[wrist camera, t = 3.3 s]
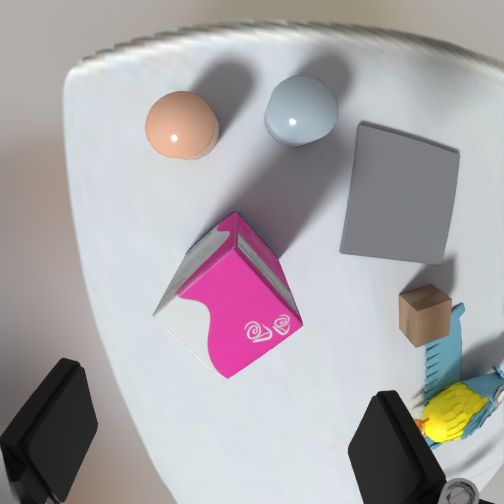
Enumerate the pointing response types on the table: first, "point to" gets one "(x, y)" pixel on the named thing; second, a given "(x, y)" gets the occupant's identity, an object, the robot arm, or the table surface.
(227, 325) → the supplement box
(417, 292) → the walnut block
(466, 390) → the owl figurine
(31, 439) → the robot arm
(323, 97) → the pale blue dome knob
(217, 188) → the table surface
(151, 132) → the peach dome cap
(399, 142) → the coaster
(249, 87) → the table surface
